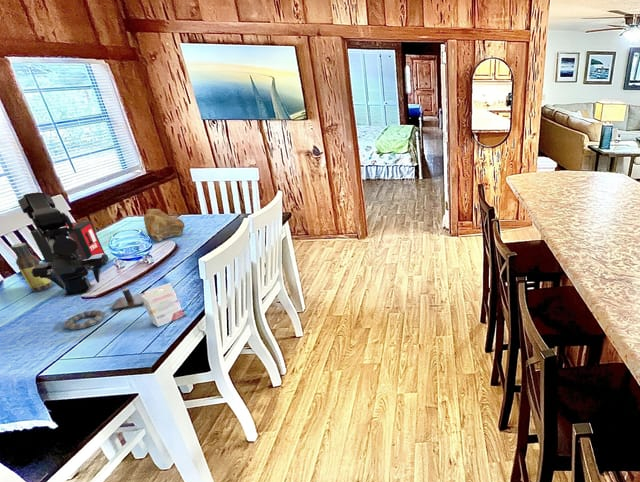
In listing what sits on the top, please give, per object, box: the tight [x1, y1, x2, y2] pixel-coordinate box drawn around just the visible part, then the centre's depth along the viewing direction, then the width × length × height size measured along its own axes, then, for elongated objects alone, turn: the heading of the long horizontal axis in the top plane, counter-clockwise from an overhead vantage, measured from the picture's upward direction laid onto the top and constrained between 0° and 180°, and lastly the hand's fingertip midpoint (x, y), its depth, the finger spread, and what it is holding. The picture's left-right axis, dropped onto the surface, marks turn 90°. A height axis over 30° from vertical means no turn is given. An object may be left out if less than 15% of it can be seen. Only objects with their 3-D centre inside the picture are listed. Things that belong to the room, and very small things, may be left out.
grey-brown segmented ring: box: [63, 309, 106, 331], centre depth 140 cm, size 10×10×2 cm
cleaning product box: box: [30, 220, 106, 271], centre depth 174 cm, size 16×9×20 cm, turn 108°
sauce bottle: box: [10, 242, 53, 292], centre depth 156 cm, size 6×6×20 cm
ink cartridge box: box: [141, 282, 185, 328], centre depth 140 cm, size 9×5×15 cm, turn 148°
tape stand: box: [111, 287, 145, 312], centre depth 151 cm, size 9×9×6 cm
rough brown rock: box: [143, 208, 186, 242], centre depth 208 cm, size 23×17×15 cm
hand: (81, 285), depth 141 cm, fingers open, 9 cm apart
